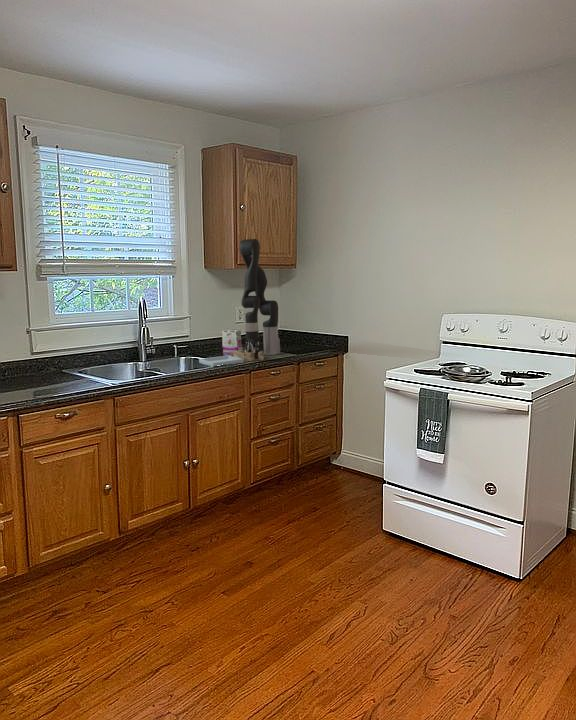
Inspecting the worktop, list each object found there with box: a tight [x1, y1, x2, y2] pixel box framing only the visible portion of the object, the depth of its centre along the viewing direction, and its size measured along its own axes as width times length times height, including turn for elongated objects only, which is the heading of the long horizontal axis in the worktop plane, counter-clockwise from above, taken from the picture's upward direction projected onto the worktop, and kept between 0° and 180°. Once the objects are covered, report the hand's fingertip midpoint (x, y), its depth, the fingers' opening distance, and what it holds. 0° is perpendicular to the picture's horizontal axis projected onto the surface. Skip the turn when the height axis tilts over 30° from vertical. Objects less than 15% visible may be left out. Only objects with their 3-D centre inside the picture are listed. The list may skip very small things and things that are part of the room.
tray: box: [198, 355, 245, 367], centre depth 349 cm, size 19×19×2 cm
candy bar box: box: [221, 329, 243, 357], centre depth 369 cm, size 11×5×16 cm, turn 62°
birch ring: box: [234, 349, 265, 363], centre depth 359 cm, size 14×13×5 cm
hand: (253, 358), depth 354 cm, fingers open, 7 cm apart
